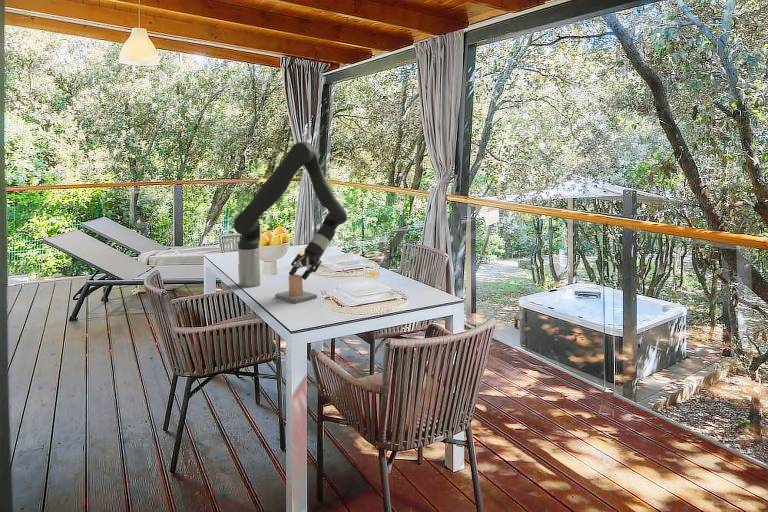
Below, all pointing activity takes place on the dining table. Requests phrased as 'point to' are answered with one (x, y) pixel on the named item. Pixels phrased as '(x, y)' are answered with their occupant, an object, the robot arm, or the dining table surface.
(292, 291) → the terracotta block
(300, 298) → the slate tile
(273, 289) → the dining table surface
